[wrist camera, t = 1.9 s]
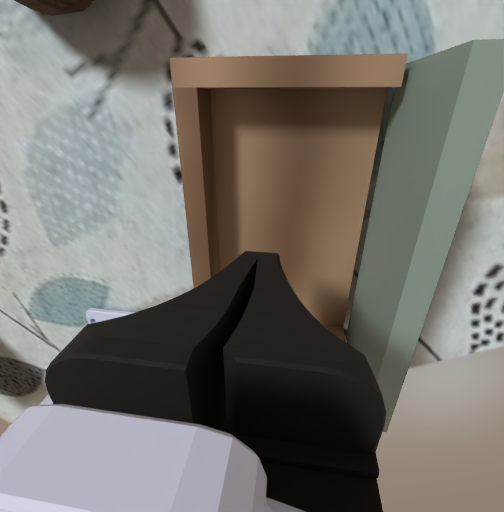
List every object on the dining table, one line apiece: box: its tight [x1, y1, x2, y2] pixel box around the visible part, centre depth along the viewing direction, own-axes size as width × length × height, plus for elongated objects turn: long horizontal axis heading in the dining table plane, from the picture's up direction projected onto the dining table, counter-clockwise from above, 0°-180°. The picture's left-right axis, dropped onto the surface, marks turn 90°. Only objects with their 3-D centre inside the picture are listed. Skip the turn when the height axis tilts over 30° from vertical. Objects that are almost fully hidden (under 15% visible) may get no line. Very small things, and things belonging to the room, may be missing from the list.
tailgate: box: [346, 39, 504, 432], centre depth 13 cm, size 1×15×6 cm, turn 0°
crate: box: [170, 54, 408, 342], centre depth 16 cm, size 9×15×4 cm, turn 0°
